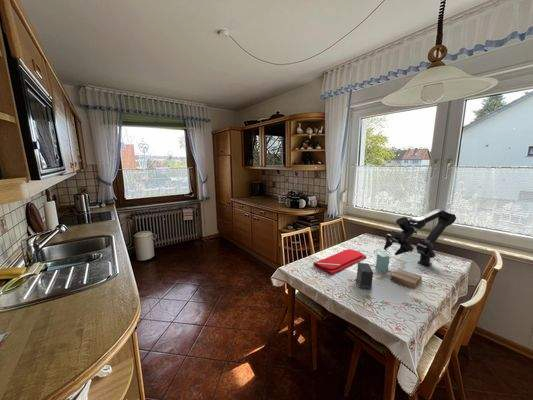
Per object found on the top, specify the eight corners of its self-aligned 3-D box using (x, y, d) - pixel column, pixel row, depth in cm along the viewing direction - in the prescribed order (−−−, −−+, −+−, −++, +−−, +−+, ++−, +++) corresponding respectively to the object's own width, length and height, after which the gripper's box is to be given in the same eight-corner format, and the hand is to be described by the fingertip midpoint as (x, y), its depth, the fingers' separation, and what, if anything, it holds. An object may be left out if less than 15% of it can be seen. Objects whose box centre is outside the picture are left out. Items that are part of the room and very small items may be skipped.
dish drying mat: (367, 258, 160) (367, 253, 159) (332, 276, 135) (332, 271, 135) (347, 251, 172) (347, 246, 171) (312, 266, 148) (312, 261, 147)
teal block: (382, 267, 146) (383, 252, 144) (388, 270, 141) (389, 256, 139) (375, 267, 145) (377, 253, 143) (381, 271, 140) (382, 256, 138)
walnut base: (398, 273, 138) (399, 268, 137) (421, 281, 129) (421, 276, 128) (390, 279, 130) (391, 275, 130) (413, 288, 121) (414, 283, 121)
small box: (372, 289, 121) (374, 272, 119) (359, 288, 122) (361, 271, 120) (367, 279, 131) (369, 263, 129) (356, 278, 132) (357, 262, 130)
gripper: (388, 222, 149) (372, 239, 148) (411, 231, 131) (394, 250, 130) (396, 232, 152) (381, 249, 151) (421, 242, 134) (403, 261, 133)
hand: (389, 252), depth 142 cm, fingers open, 9 cm apart
